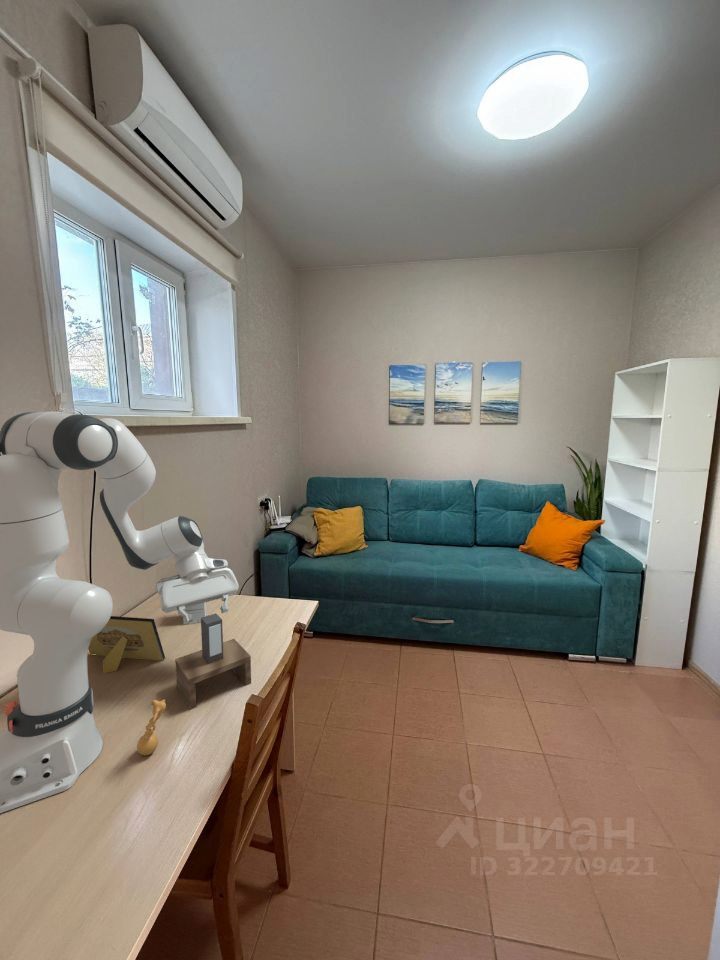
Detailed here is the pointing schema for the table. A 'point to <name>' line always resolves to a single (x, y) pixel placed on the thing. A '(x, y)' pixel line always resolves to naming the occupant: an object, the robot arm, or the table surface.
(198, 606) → the supplement box
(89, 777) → the table surface
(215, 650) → the tall grey pillar block
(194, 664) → the walnut shelf
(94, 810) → the table surface
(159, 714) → the figurine
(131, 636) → the picture frame
